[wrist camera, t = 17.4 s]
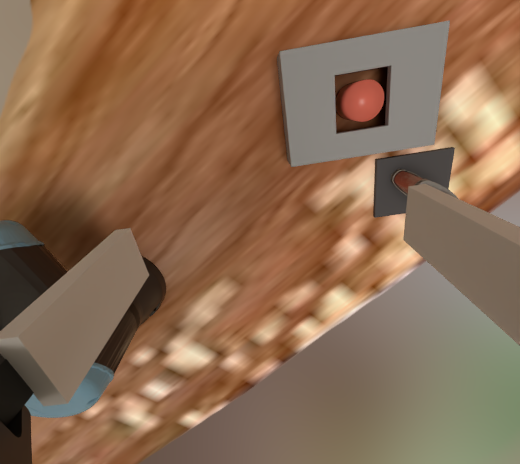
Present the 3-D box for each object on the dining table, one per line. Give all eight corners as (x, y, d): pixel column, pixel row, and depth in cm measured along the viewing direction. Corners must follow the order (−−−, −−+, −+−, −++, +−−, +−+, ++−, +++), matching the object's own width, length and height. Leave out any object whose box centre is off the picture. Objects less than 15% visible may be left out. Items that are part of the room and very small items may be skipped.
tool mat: (373, 216, 47) (374, 217, 46) (375, 159, 42) (377, 159, 42) (443, 206, 46) (445, 207, 46) (452, 147, 42) (454, 147, 41)
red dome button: (335, 122, 39) (346, 124, 35) (334, 85, 37) (345, 83, 33) (368, 116, 39) (383, 118, 34) (369, 79, 37) (385, 76, 32)
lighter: (435, 188, 44) (482, 209, 35) (420, 204, 45) (461, 229, 36) (399, 163, 42) (439, 179, 33) (385, 181, 43) (419, 201, 34)
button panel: (287, 161, 42) (291, 168, 38) (276, 58, 36) (279, 51, 32) (414, 141, 41) (434, 145, 37) (425, 31, 35) (449, 20, 31)
